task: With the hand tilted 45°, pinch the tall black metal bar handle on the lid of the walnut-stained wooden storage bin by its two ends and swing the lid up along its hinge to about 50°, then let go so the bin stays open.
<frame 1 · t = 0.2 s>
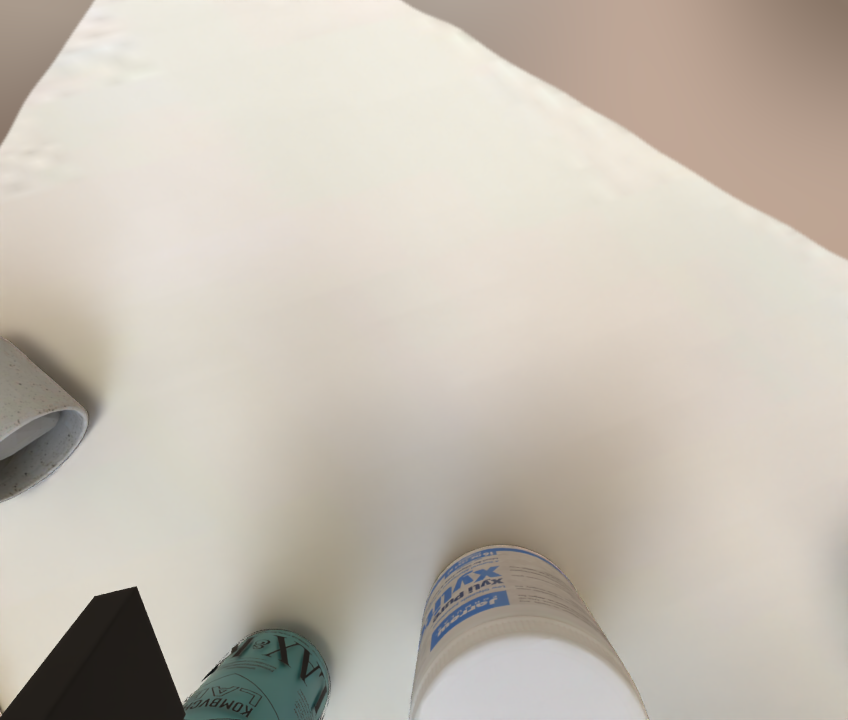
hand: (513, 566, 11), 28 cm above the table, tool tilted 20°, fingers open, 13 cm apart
supplement tub: (501, 623, 38), on the table
beverage bottle: (283, 669, 39), on the table
ceramic mug: (18, 431, 40), on the table
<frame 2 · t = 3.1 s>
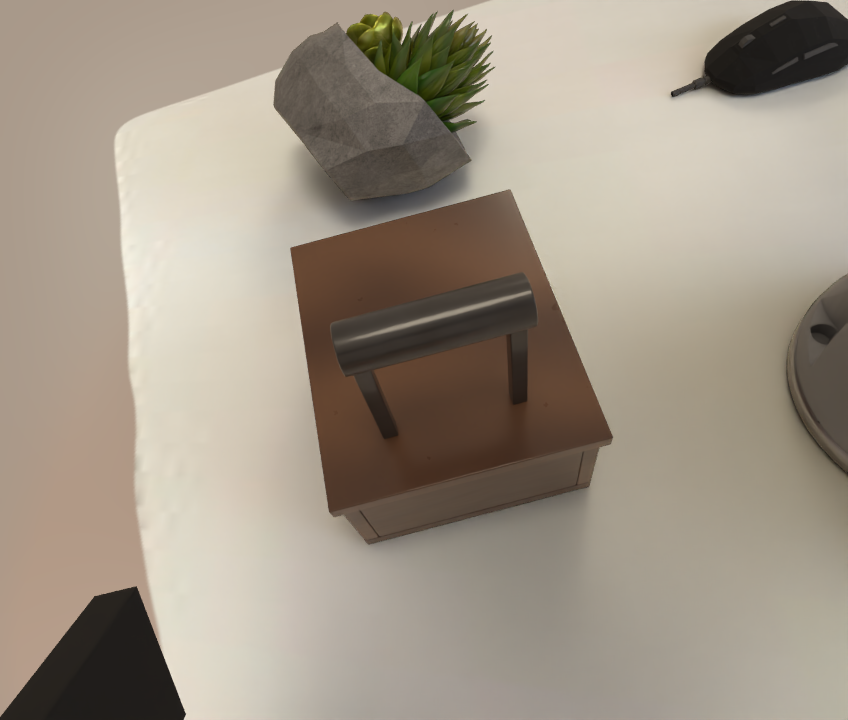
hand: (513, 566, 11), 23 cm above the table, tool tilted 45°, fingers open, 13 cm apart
bin: (447, 401, 39), on the table
gaming mouse: (759, 69, 50), on the table
bin lid: (420, 283, 28), point 12 cm above the table, hinge at 0.0°
potted plant: (403, 162, 50), on the table
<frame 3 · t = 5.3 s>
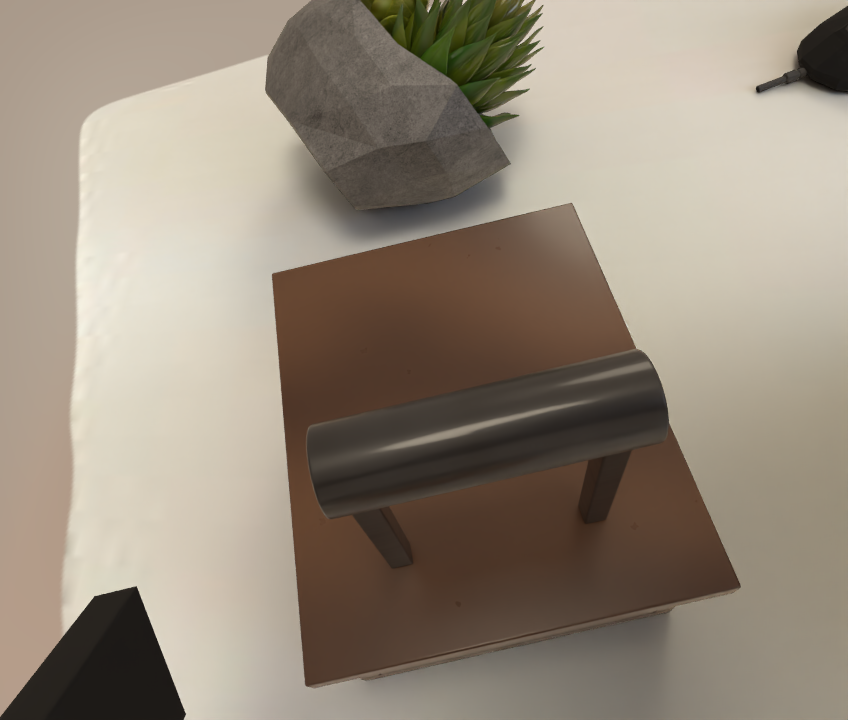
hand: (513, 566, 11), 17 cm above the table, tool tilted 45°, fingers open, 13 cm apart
bin: (475, 478, 30), on the table
bin lid: (452, 341, 19), point 12 cm above the table, hinge at 0.0°
potted plant: (423, 164, 41), on the table
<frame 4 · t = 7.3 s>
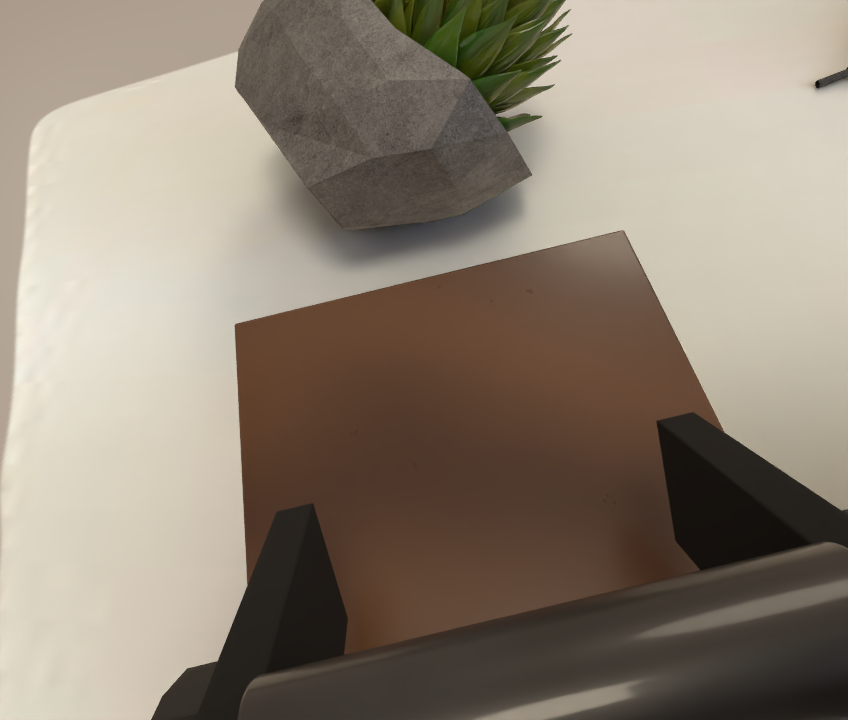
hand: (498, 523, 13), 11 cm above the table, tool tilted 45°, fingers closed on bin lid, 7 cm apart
bin lid: (481, 450, 13), point 12 cm above the table, hinge at 0.0°, touching gripper
potted plant: (425, 174, 35), on the table
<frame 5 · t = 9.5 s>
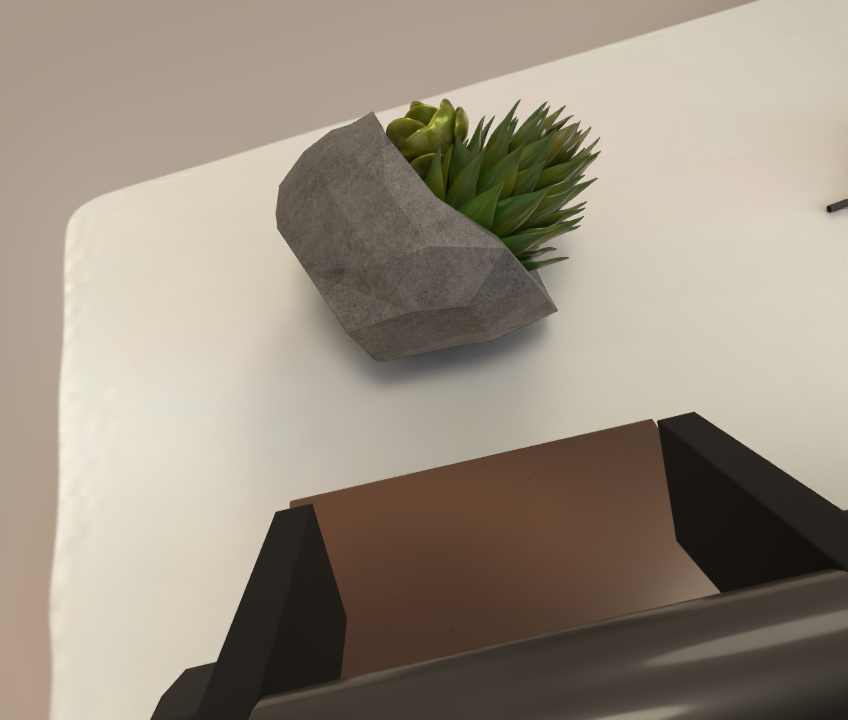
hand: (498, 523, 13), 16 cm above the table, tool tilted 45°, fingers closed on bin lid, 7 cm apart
bin lid: (510, 578, 13), point 15 cm above the table, hinge at 24.6°, touching gripper
potted plant: (451, 288, 36), on the table
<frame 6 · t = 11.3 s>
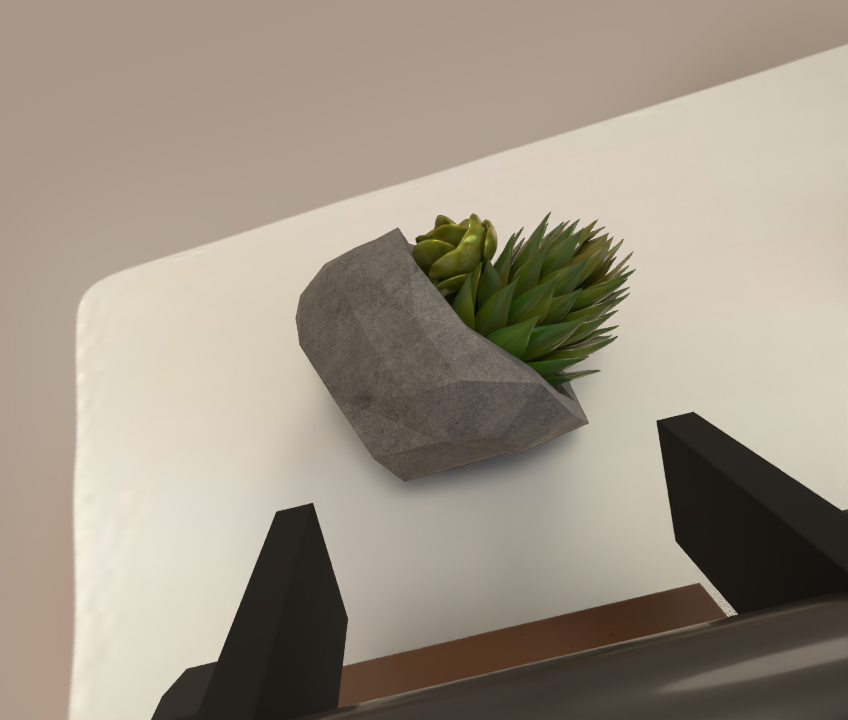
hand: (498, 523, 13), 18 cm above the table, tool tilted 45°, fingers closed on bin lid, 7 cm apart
bin lid: (543, 706, 12), point 17 cm above the table, hinge at 45.6°, touching gripper
potted plant: (475, 382, 35), on the table
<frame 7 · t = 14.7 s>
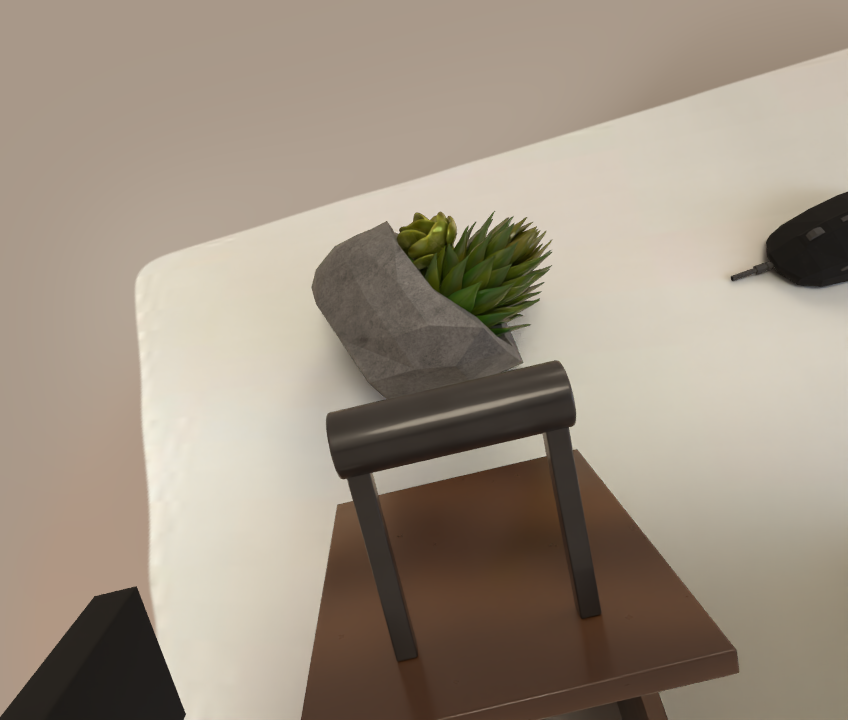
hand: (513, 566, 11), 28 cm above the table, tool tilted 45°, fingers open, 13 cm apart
bin: (497, 653, 36), on the table
gaming mouse: (824, 254, 47), on the table
bin lid: (458, 467, 24), point 17 cm above the table, hinge at 45.6°
potted plant: (444, 338, 47), on the table
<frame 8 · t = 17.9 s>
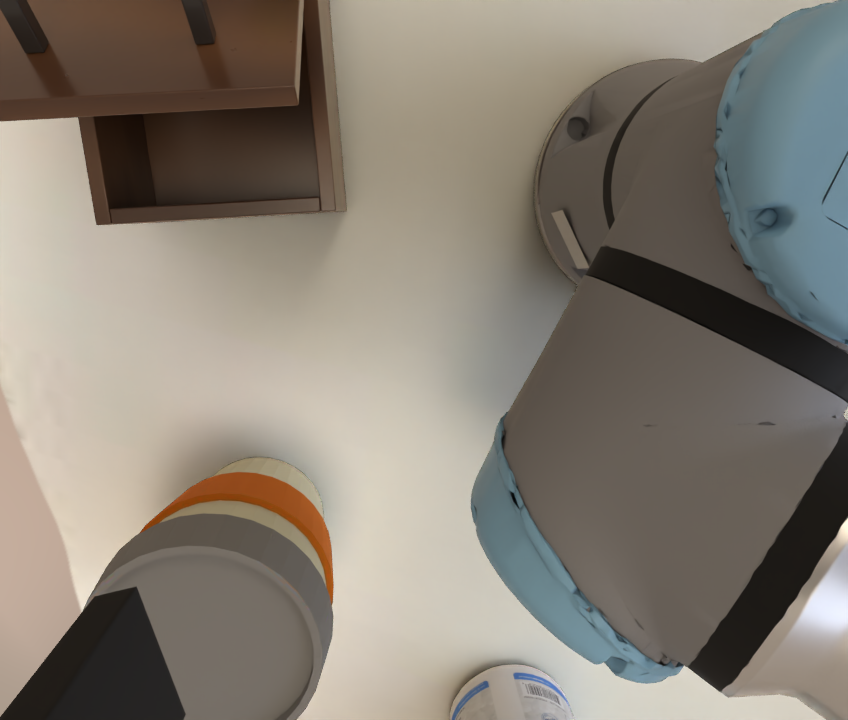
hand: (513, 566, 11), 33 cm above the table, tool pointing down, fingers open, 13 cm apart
bin: (235, 96, 40), on the table
supplement tub: (508, 707, 51), on the table
reusable coffee cup: (261, 514, 46), on the table
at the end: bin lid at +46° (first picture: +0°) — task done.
